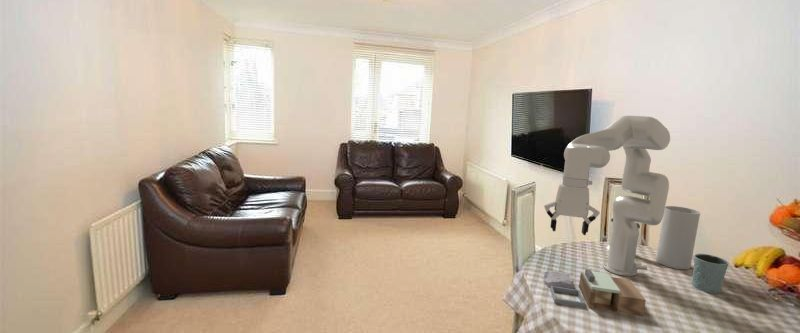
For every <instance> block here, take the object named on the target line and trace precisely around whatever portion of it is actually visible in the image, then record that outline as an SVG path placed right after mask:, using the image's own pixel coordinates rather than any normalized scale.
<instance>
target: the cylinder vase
mask: <svg viewBox="0 0 800 333" xmlns="http://www.w3.org/2000/svg"><path fill="white" fill-rule="evenodd" d="M700 216H701V212H700V210H696V209H692V208H689V207H683V206H675V205H665V210H664V214H663V218H662V221H661V225H660V231H659V232H660V233H659V237H658V238H659V239H658V244H657V250H656V256H655V261H656V262H657V263H659V264H660V265H662V266H665V267H667V268H671V269H674V270H689V269H690V268H691V267H692V260H693V255H694V251H695V244H696V238H697V235H698V234H697V232H698V227H699V222H700Z"/></svg>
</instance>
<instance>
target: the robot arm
mask: <svg viewBox="0 0 800 333" xmlns="http://www.w3.org/2000/svg"><path fill="white" fill-rule="evenodd" d="M670 143H671V134H670V131H669V130H668V128H667V127H666V126H665V125H664V124H663V123H662V122H661V121H659V120H658V119H656V118H655V117H652V116H645V115H643V116H642V115H623V116H620V117H618V118H617V119H616V120H614V121H613V122H612V123H611V124H609V125H608V126H606V127H605V128H604V129H600V130H597V131H594V132H590V133H586V134H582V135H580V136H577V137H576V138H575V139H573V140H572V141H571V142H569V143H568V144H567V146H566V147H565V149H564V152H563V158H564V160H565V161H564V169H563V174H562V184H559V186H558V188H557V192H556V197H555V200H554V201H552V202H549V203H546V204H544V205H543V207H544V209H545V212H546V214H547V215H548V216H549V218H551V219H550V220H551V221H550V228H551V229H552V232H556V231H557V222H558V221H557V218H559V216H562V217H563V216H565V217H572V218H574V217H575V218H581V219H582V218H583V221H582V225H581V226H582V227H581V233H582V235H583V236H587V233H588V232H589V226H590V224H591V223H592V222H593V221H596V220H597V219H596V218H598V217H599V215H600V214H601V213H600V210H598V209H597V208H595V207H593V206H591V205H590V188H589V187H588V186H590V185H591V186H592V185H593V181H592V180H589V174H590V168H593V169H601V168H604V167H605V166H607V165H608V164H609V162H610V160H611V153H610V151H611V152H612V151H616V150H619V149H620V148H623V150H624V153H625V162H624V163H625V164H624V167H623V168H624V169H623V172H622V173H623V174H622V179H621V188H622V190H623V191H625V192H627V193H631V194H636V195H638V196H645V197H649V199H646V198H641V197H638V196H637V197H636V196H631V195H625V194H624V195H618V196H617V197H615V198H614V200H613V201H612V218H613V222H612V223H613V226H612V233H610V240H609V246H610V247H609V250H608V255H607V261H604V262H603V263H602V268H603V269H604V270H605V271H607V272H610V273H613V274H615V275H620V276H624V277H633V276H637V275H638V270H642V271H647V270H648V265H645V264H642V263H640V262H636V261H635V260H636V255H637V248H638V241H639V240H638V239H639V235H640V231H639V229H638V227H637V225H636V223H640V224H644V225H649V226H657V225H659V224H660V223H662V219H663V214H664V210H665V206H667V205H666V204H667V199H668V196H669V195H668V194H669V190H670V182H669V179H668V176H666V175H665V174H663V173H659V172H658V173H657V172H651V171H650V167H651V162H652V158H651V156H650V153H649V152H648V150H651V151H662V150H665V149H666V148H667V147H668V146H669V144H670ZM553 207H554V212H553V213H552V211H551V208H553ZM589 211H590V212H592V214H591V215H590V216H589Z"/></svg>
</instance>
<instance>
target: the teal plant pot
mask: <svg viewBox="0 0 800 333" xmlns="http://www.w3.org/2000/svg"><path fill="white" fill-rule="evenodd" d="M729 264H730V263H729V261H728V260H727V259H725V258H722V257H719V256H717V255H712V254H707V253H696V254H694V257H693V271H692V277H691V278H692V279H691V285H692V287H693V288H695V289H697V290H698V291H703V292H705V293H708V292H709V294H719V292H720V293H721V290H722V287H723V282H724V279H725V276H726V273H727V269H728V267H729Z"/></svg>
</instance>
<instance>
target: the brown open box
mask: <svg viewBox="0 0 800 333" xmlns="http://www.w3.org/2000/svg"><path fill="white" fill-rule="evenodd" d="M610 277H611V278H612V280H613V281H614V283H615V284H616V285H617V287H618V288H619V290H620V294H618V293H612V296H611V303H610V305H606V304H600V303H594V302H595V295H596V292H595V290H592V289H591V288H590V286H589V284H588V282H587V281H586V279H585V277H584V275H583V273H582V272H580V274H579V282H578V288H579V291H580V293H581V295H582V297H583V299H584V301H585V304H586V305H587V307H588V308H590V309H595V310H596V309H597V310H603V311H610V312H616V313H621V314H627V315H634V316H639V317H643V316H644V315H645V314H644V313H645V307H646V301H647V300H646V298H645V296H643V295H642V293H641V291H639V289H638V288H637V287H636V286H635V285H634V283H633V282H632V280H631V279H629V278H621V277H616V276H610Z"/></svg>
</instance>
